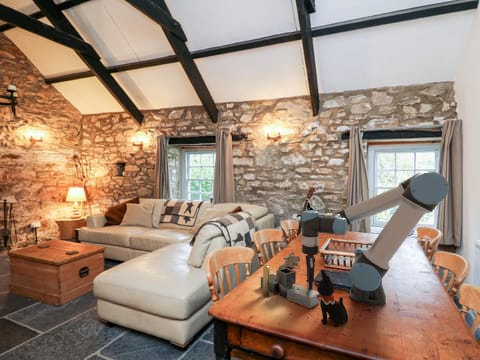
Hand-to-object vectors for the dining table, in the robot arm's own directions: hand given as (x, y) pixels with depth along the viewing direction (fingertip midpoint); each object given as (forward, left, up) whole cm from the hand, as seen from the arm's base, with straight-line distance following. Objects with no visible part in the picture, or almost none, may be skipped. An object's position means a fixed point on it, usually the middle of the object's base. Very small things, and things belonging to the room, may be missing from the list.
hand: (310, 294), depth 132 cm
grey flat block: (0, +5, -1) cm, 6 cm away
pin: (+14, +15, -2) cm, 20 cm away
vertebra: (+33, -23, -2) cm, 40 cm away
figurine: (-18, +9, -2) cm, 21 cm away
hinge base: (+14, +7, -2) cm, 16 cm away
